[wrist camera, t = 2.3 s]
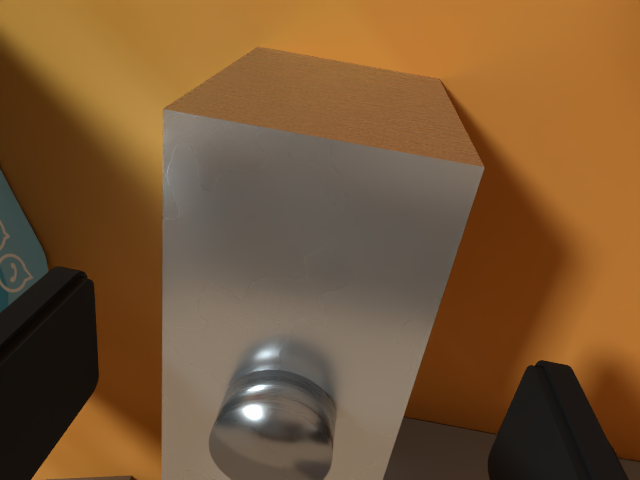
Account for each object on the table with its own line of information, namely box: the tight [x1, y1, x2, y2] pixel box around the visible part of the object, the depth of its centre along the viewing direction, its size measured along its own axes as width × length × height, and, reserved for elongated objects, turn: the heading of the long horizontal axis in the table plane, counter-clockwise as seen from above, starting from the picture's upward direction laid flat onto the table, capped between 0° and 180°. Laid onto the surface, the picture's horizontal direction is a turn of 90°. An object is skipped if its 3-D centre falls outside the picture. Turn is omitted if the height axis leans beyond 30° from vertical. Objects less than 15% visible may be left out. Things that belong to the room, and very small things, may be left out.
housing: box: [162, 47, 485, 480], centre depth 13 cm, size 9×5×8 cm, turn 171°
